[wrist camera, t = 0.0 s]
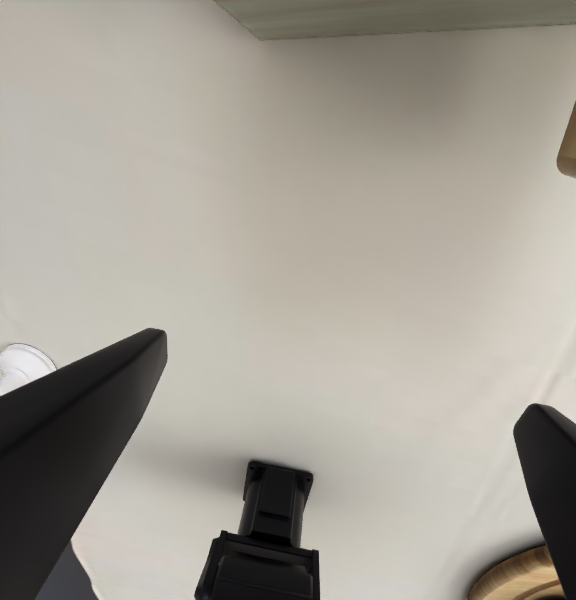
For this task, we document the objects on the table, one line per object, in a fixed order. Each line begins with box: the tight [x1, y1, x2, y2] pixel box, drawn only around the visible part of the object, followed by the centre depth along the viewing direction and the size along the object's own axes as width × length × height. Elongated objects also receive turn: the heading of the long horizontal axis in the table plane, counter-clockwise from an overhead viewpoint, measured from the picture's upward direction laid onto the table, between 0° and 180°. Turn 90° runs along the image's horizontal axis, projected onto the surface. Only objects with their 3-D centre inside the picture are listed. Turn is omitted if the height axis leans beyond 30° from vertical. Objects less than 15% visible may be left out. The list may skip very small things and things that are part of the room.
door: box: [214, 0, 576, 178], centre depth 12 cm, size 7×16×14 cm, turn 92°
